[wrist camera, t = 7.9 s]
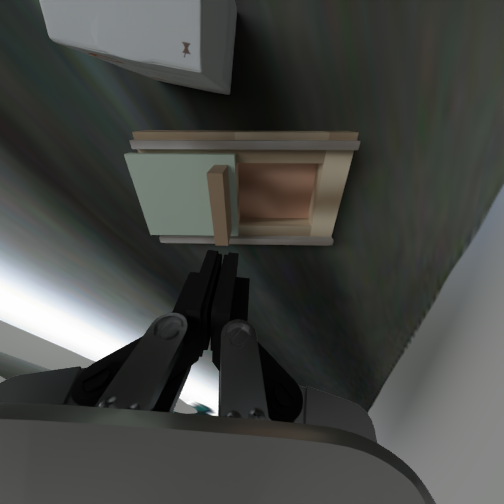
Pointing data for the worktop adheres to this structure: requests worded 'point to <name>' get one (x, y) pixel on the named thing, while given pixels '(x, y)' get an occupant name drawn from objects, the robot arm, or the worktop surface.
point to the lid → (187, 193)
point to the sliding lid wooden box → (271, 180)
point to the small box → (152, 37)
